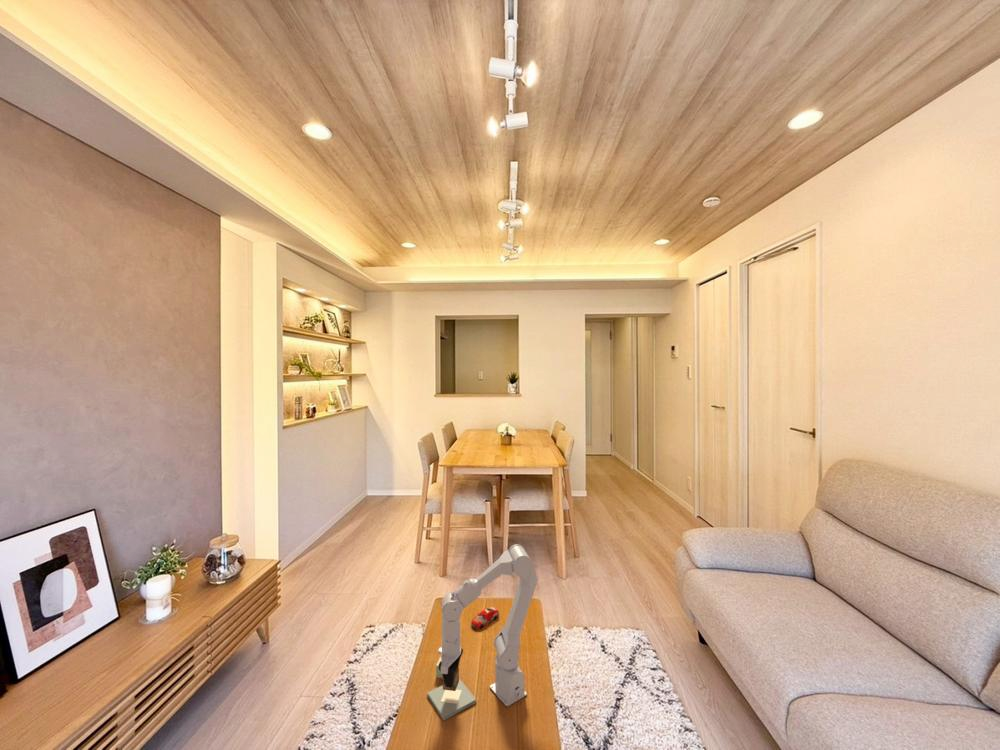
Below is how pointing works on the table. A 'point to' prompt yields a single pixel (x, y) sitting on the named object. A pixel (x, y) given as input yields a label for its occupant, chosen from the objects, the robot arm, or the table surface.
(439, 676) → the sage cube
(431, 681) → the table surface
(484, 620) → the race car
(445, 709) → the baseplate
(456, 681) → the walnut cube
